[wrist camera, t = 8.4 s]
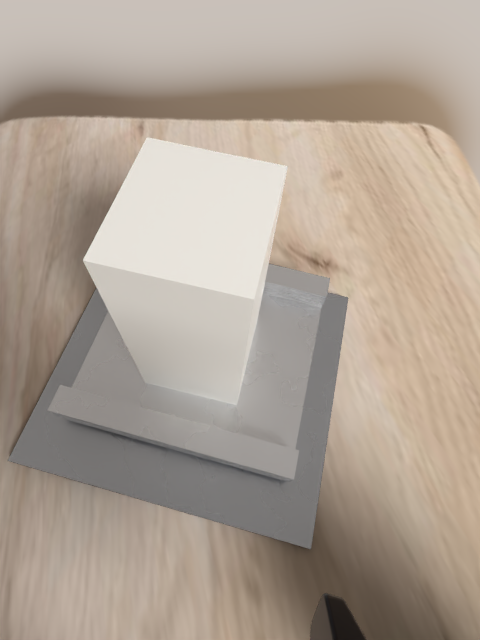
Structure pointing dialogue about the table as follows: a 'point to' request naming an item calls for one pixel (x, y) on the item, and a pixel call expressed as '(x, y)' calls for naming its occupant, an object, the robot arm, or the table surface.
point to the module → (188, 263)
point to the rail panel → (202, 418)
